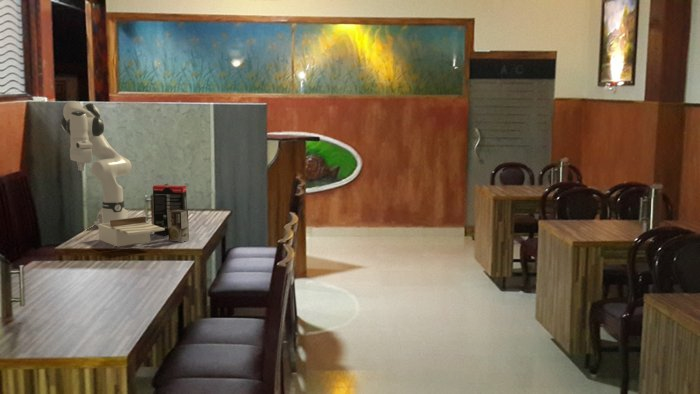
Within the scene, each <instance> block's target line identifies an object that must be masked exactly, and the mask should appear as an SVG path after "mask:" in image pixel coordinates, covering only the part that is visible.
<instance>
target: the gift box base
mask: <svg viewBox="0 0 700 394" xmlns="http://www.w3.org/2000/svg"><path fill="white" fill-rule="evenodd" d="M97 227H98V240H99V241H101V242H105V243H107V244H108V245H111V246H115V247H116V246H117V247H122V246H124V247H125V246H132V245H139V244H145V243H151V232H148V233H141V234H134V235H128V234H125V233H122V232H120V231H117V230H114V229H111V228H110V223H104V224H98V226H97Z"/></svg>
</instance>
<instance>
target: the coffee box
mask: <svg viewBox="0 0 700 394" xmlns="http://www.w3.org/2000/svg"><path fill="white" fill-rule="evenodd" d="M167 218H168V240H169V241H178V242H177V243H185V242H184V241H186V242H189V241H190V231H189V224H190V223H189V210H188V209H187V210H176V209H174V210H170V211H167ZM188 240H189V241H188Z"/></svg>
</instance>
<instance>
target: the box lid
mask: <svg viewBox="0 0 700 394" xmlns="http://www.w3.org/2000/svg"><path fill="white" fill-rule="evenodd" d="M110 228H111V229H114V230H117V231H120V232H122V233H125V234H128V235H134V234H141V233H148V232H150V233H154V232H156V231H163V230H165V228H162V227H159V226H156V225H154V224H152V223H150V222H147V217H146V216H144V215H143V216H136V217H129V218H127V219H118V220H110Z"/></svg>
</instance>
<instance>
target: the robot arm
mask: <svg viewBox="0 0 700 394" xmlns="http://www.w3.org/2000/svg"><path fill="white" fill-rule="evenodd" d="M60 125H61V127H62V130H63V131H64V132H66V133H67V134H69V135H70V136H69V139H70V149H69V158H70V161H74V162H76V165H77V167H78V171H80V172H83V171H85V164H91V163H92V160H93V159H92V158H93V157H94V158H96V159H98V160H97V161H94V162H93V163H92V164H91V168H90V170H91V174H92V175H93V177H94V178H96V179H97V181H99V185H101V190H102V200H103V201H102V203H101V205H102V206H101V209H100V210H99V212H98V213H97V214H96V216H95V218H96V221H93V224H94V225H95V226H96V227H98V224H104V223H110V220H118V219H127V218H128V210H127V209H125V200H124V189H123V186H122V185H121V184H119V183H118V182H117V179H116V178H118V177H123V176H126V175H128V174H130V173H131V171H132V167H133V166H132V163H131V161H130V160H129V158H126V157H124V156H122V155H121V154H119V153H118V152H117V151H116V150H115V149H114V148H113V147H112V146H111V145H110V143H109V142H108V140H107V138H106V137H105V136H104V134H103V133H105V132H104V131H105V124H104V120H103V119H102V117H101V113H100V110H99V108H98V107H97V106H96V105H95V104H93V103H87V104H85V105H82V104H81V103H79V102H78V101H76V100H69V101H68V102H66V103H65V104H64V106H63V109H62V118H61V121H60Z"/></svg>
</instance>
